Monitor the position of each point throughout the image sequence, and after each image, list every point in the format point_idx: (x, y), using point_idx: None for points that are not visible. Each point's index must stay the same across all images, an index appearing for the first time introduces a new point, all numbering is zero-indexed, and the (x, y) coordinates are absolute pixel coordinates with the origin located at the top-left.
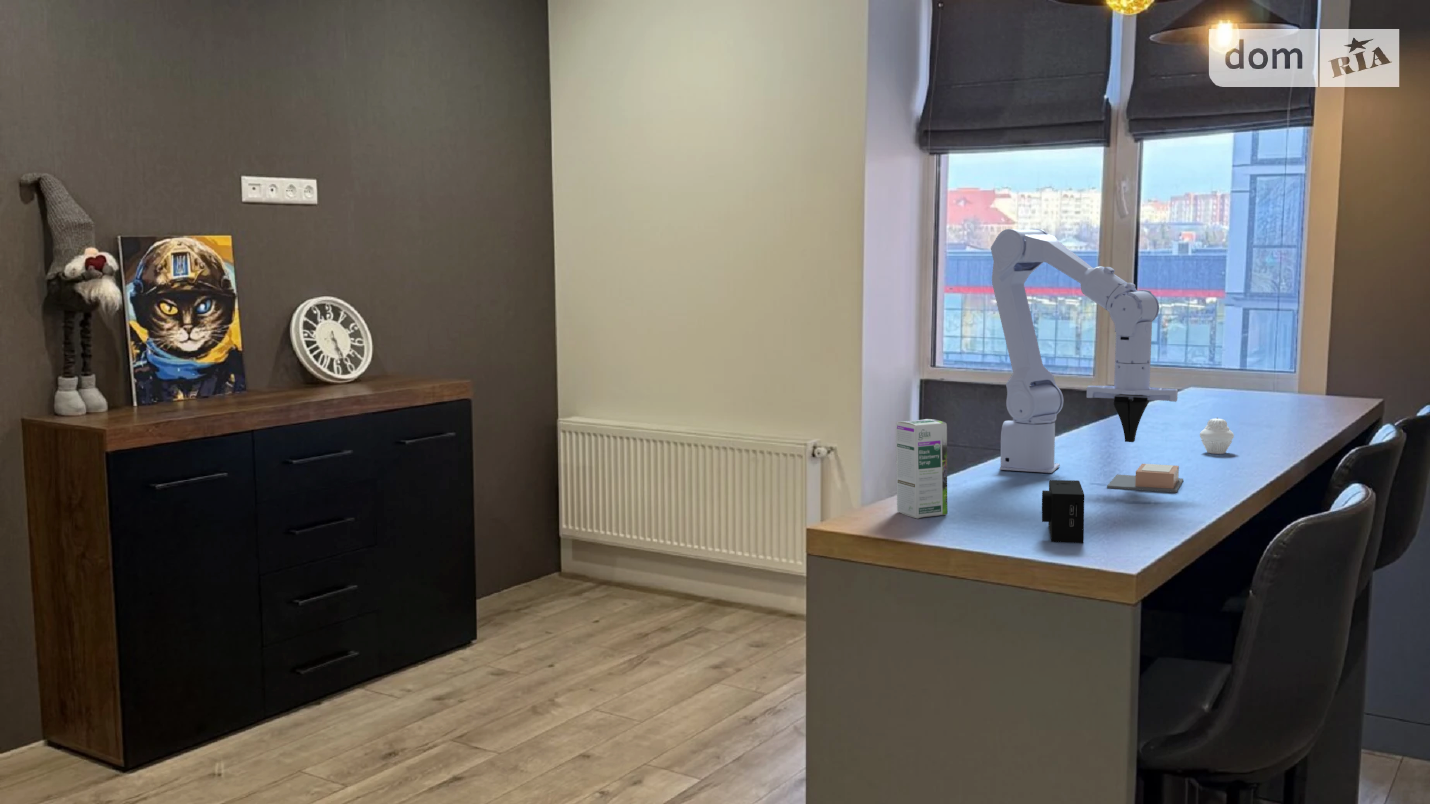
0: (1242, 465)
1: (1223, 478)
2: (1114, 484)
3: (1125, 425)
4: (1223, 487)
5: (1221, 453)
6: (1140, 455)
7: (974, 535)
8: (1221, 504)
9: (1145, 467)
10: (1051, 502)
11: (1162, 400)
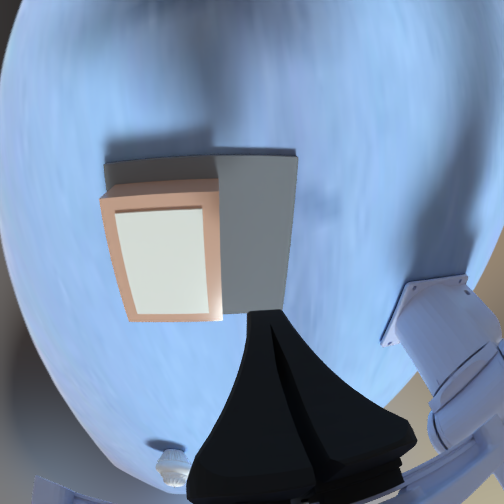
0: (116, 417)
1: (88, 349)
2: (279, 182)
3: (300, 357)
4: (50, 273)
5: (166, 449)
6: None
7: None
8: (13, 83)
9: (198, 260)
10: None
11: (110, 502)
